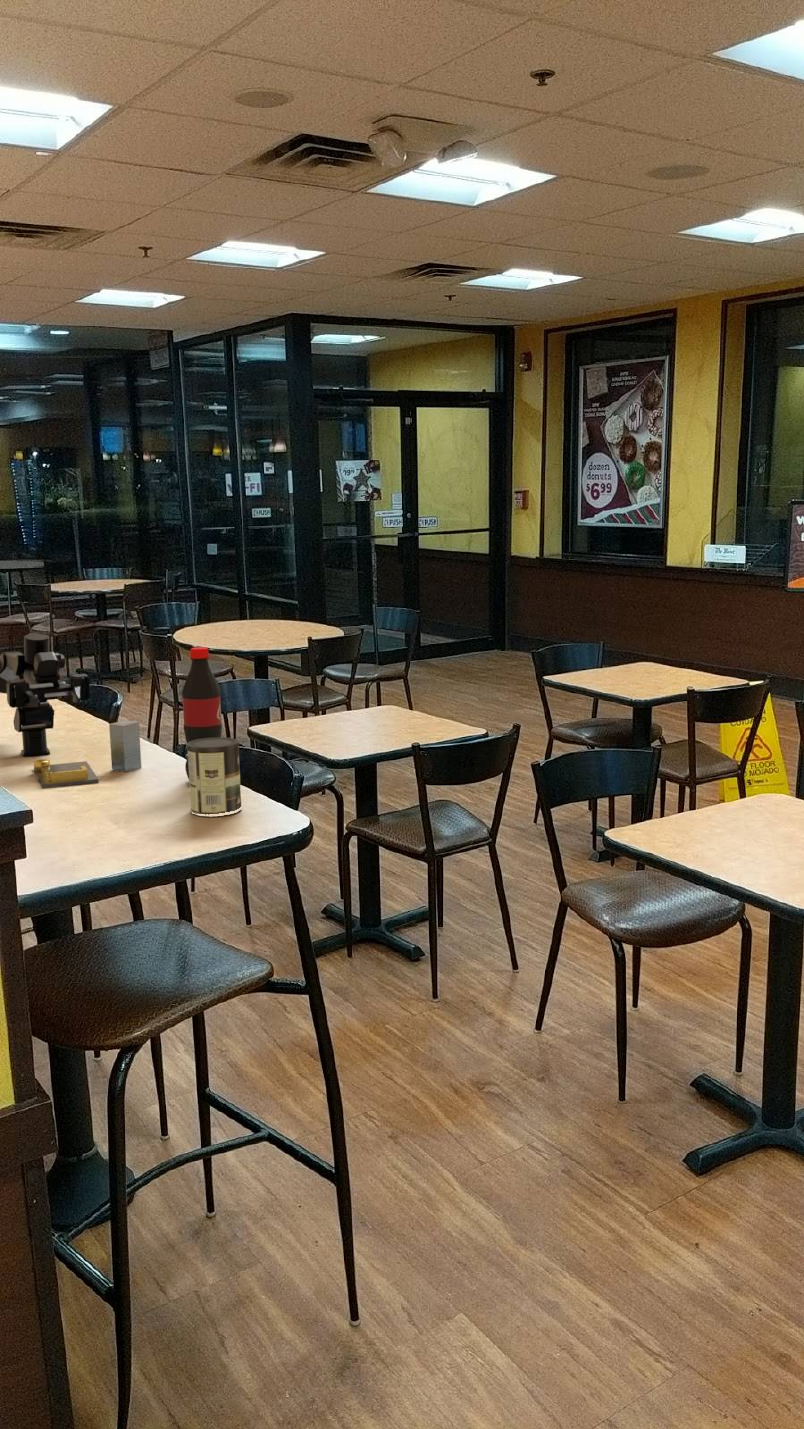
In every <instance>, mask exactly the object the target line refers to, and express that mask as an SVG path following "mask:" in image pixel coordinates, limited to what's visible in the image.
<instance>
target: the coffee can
mask: <svg viewBox="0 0 804 1429" xmlns="http://www.w3.org/2000/svg"><path fill="white" fill-rule="evenodd" d="M239 745H240V740H239V739H236V738H233V737H222V736H221V737H214V738H203V739H197V740H193V741H190V742H188V743H186V749H187V757H188V766H189V779H188V782H189V798H190V799H189V800H190V812H191V811H192V812H193V813H195V814H205V815H206V814H208V815H209V814H219V813H225V812H230V811H235V810H237V809H239V808H240V807H242V793H241V792H242V791H241V770H240V765H241V764H240V746H239Z"/></svg>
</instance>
